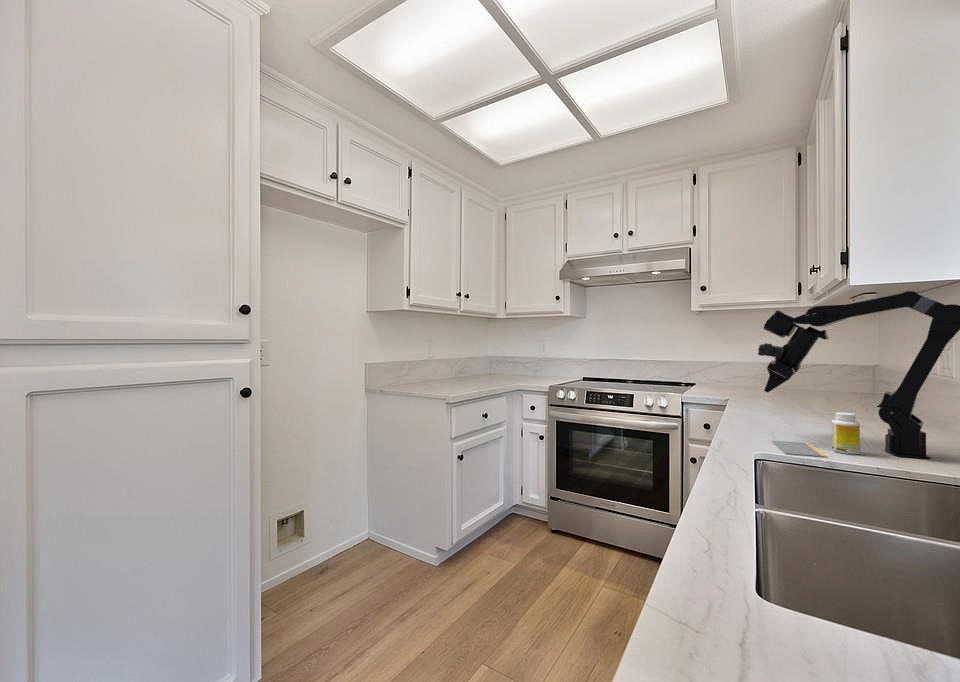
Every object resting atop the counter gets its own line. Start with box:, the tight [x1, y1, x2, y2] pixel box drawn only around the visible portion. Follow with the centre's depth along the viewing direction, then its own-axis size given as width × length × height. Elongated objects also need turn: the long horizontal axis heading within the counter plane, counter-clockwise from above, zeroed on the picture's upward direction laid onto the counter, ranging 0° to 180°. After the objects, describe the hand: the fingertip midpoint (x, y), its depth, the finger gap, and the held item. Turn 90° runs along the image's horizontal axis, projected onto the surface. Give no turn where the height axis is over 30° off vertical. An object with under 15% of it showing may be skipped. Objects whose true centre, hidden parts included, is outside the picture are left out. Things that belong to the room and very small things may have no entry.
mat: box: [771, 440, 829, 458], centre depth 114 cm, size 9×15×1 cm, turn 157°
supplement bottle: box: [831, 411, 861, 455], centre depth 111 cm, size 6×6×10 cm
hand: (768, 389), depth 130 cm, fingers open, 9 cm apart
